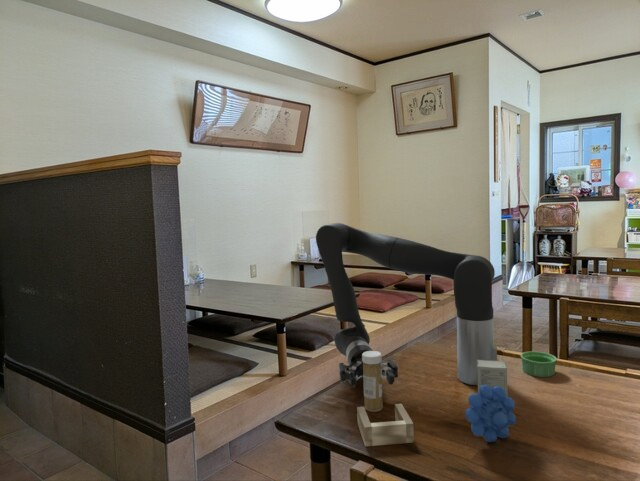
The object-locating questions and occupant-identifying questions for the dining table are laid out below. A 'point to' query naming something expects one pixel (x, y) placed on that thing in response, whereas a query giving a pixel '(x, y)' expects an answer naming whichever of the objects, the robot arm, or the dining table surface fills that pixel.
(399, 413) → the pocket
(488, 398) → the blue bumpy cluster
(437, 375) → the dining table surface
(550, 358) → the ramekin
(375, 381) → the spice jar
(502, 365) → the skincare box
